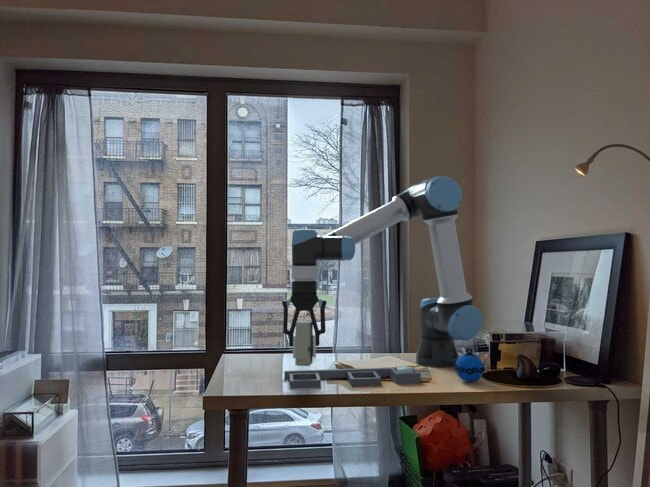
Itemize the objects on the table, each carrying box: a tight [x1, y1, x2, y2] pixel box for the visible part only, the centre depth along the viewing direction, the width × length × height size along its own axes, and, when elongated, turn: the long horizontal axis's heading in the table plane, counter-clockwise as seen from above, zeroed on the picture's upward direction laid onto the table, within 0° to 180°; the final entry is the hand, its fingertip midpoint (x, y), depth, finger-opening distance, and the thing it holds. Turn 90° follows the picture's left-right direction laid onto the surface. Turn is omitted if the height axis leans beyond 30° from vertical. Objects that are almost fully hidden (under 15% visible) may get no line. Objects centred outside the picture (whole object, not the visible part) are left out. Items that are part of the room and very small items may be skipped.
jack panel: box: [283, 367, 391, 389], centre depth 149 cm, size 38×11×2 cm, turn 96°
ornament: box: [454, 348, 485, 383], centre depth 148 cm, size 9×9×10 cm
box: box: [294, 320, 314, 367], centre depth 147 cm, size 5×4×13 cm
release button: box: [396, 365, 413, 373], centre depth 150 cm, size 5×5×2 cm
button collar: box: [389, 366, 422, 385], centre depth 150 cm, size 8×8×3 cm
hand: (304, 356), depth 147 cm, fingers closed on box, 5 cm apart
